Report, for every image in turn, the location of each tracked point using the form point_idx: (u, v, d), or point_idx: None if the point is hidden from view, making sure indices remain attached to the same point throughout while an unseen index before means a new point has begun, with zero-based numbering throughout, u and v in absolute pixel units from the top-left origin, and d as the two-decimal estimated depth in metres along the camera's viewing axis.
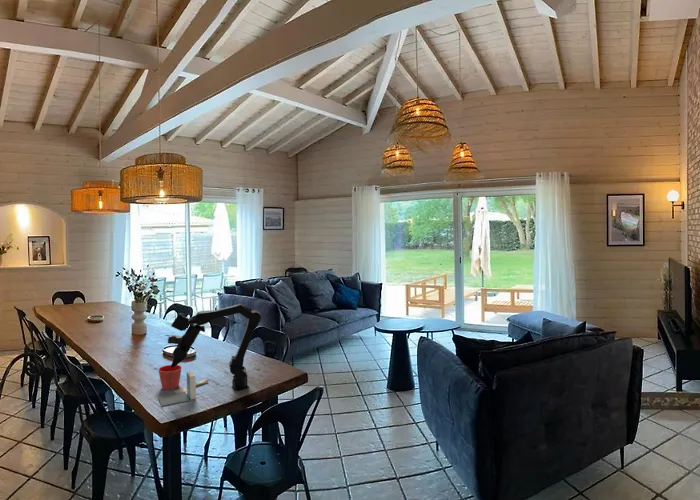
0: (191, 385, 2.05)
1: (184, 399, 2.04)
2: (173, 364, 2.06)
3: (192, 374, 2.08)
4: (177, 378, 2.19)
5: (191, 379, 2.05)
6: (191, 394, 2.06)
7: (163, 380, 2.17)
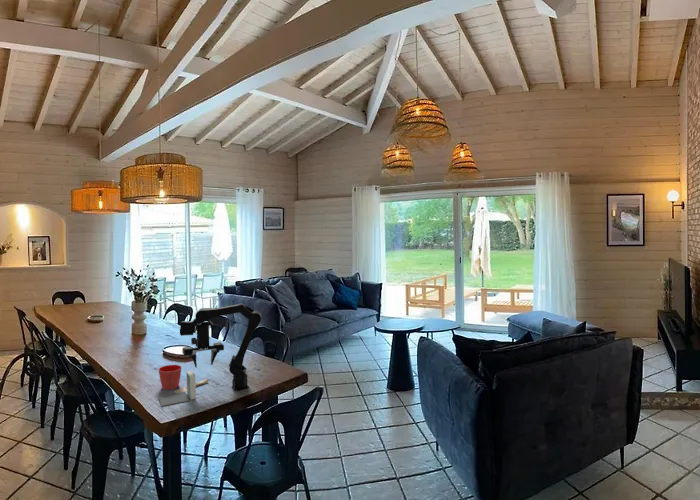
0: (191, 385, 2.05)
1: (184, 399, 2.04)
2: (194, 364, 2.14)
3: (192, 374, 2.08)
4: (177, 378, 2.19)
5: (191, 379, 2.05)
6: (191, 394, 2.06)
7: (163, 380, 2.17)
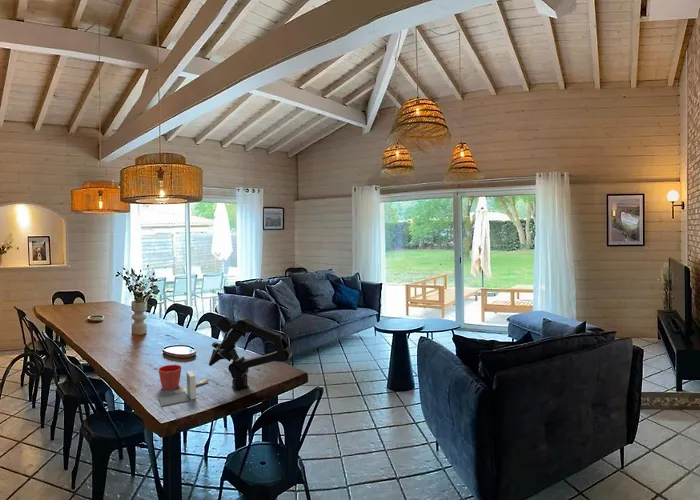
0: (191, 385, 2.05)
1: (184, 399, 2.04)
2: None
3: (192, 374, 2.08)
4: (177, 378, 2.19)
5: (191, 379, 2.05)
6: (191, 394, 2.06)
7: (163, 380, 2.17)
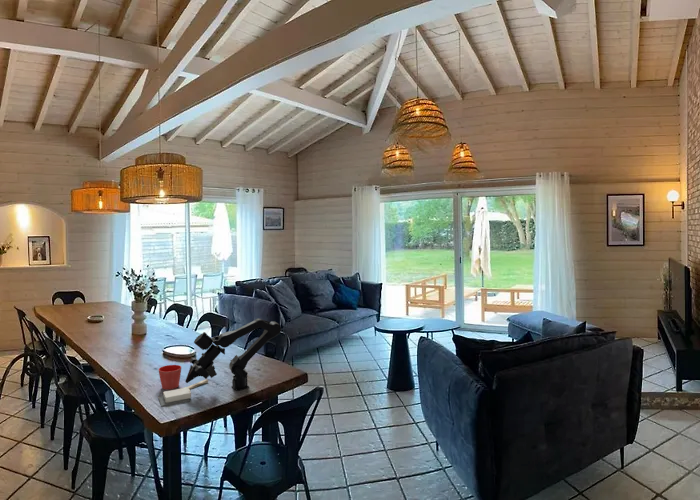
0: (176, 399, 2.02)
1: (184, 399, 2.04)
2: None
3: (165, 397, 2.02)
4: (177, 378, 2.19)
5: (169, 400, 2.01)
6: (185, 397, 2.04)
7: (163, 380, 2.17)
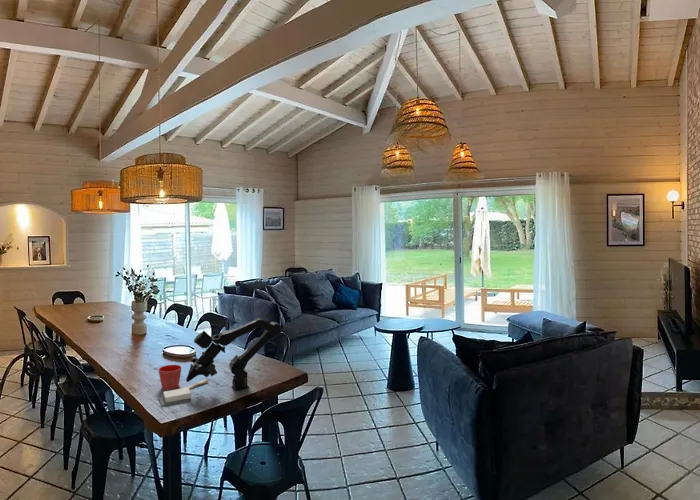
0: (176, 399, 2.02)
1: (184, 399, 2.04)
2: None
3: (165, 397, 2.02)
4: (177, 378, 2.19)
5: (169, 400, 2.01)
6: (185, 397, 2.04)
7: (163, 380, 2.17)
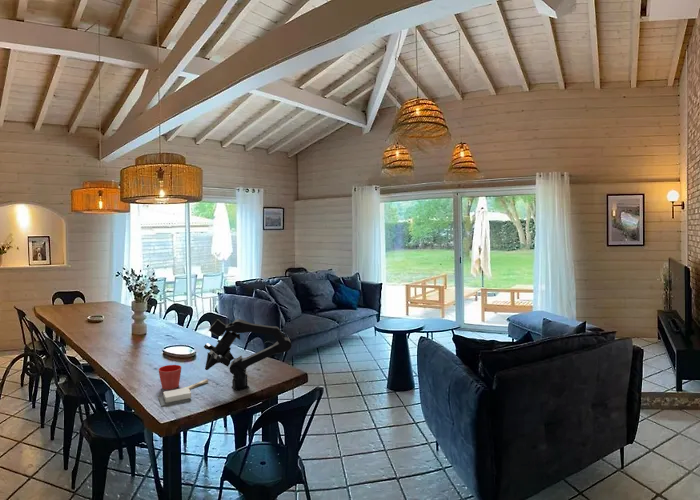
0: (176, 399, 2.02)
1: (184, 399, 2.04)
2: None
3: (165, 397, 2.02)
4: (177, 378, 2.19)
5: (169, 400, 2.01)
6: (185, 397, 2.04)
7: (163, 380, 2.17)
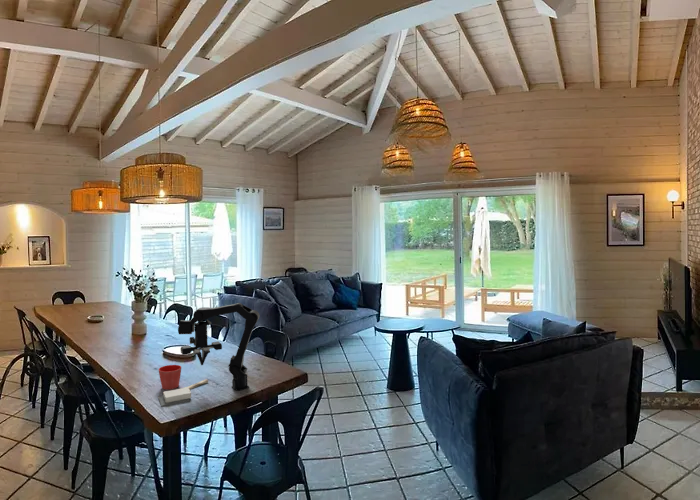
0: (176, 399, 2.02)
1: (184, 399, 2.04)
2: (200, 361, 2.17)
3: (165, 397, 2.02)
4: (177, 378, 2.19)
5: (169, 400, 2.01)
6: (185, 397, 2.04)
7: (163, 380, 2.17)
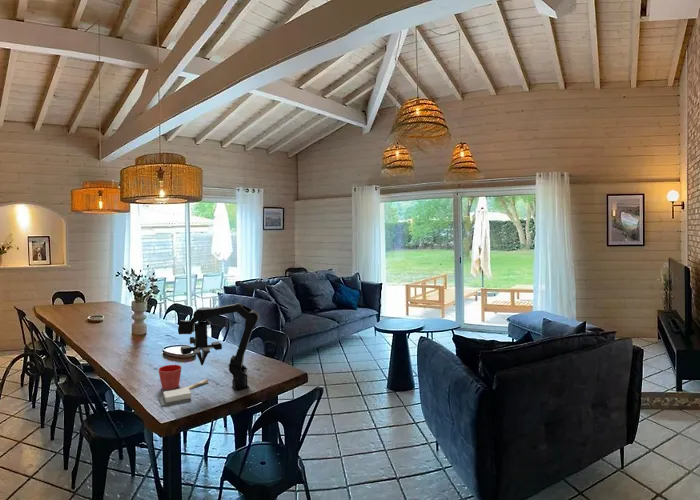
0: (176, 399, 2.02)
1: (184, 399, 2.04)
2: (200, 361, 2.17)
3: (165, 397, 2.02)
4: (177, 378, 2.19)
5: (169, 400, 2.01)
6: (185, 397, 2.04)
7: (163, 380, 2.17)
